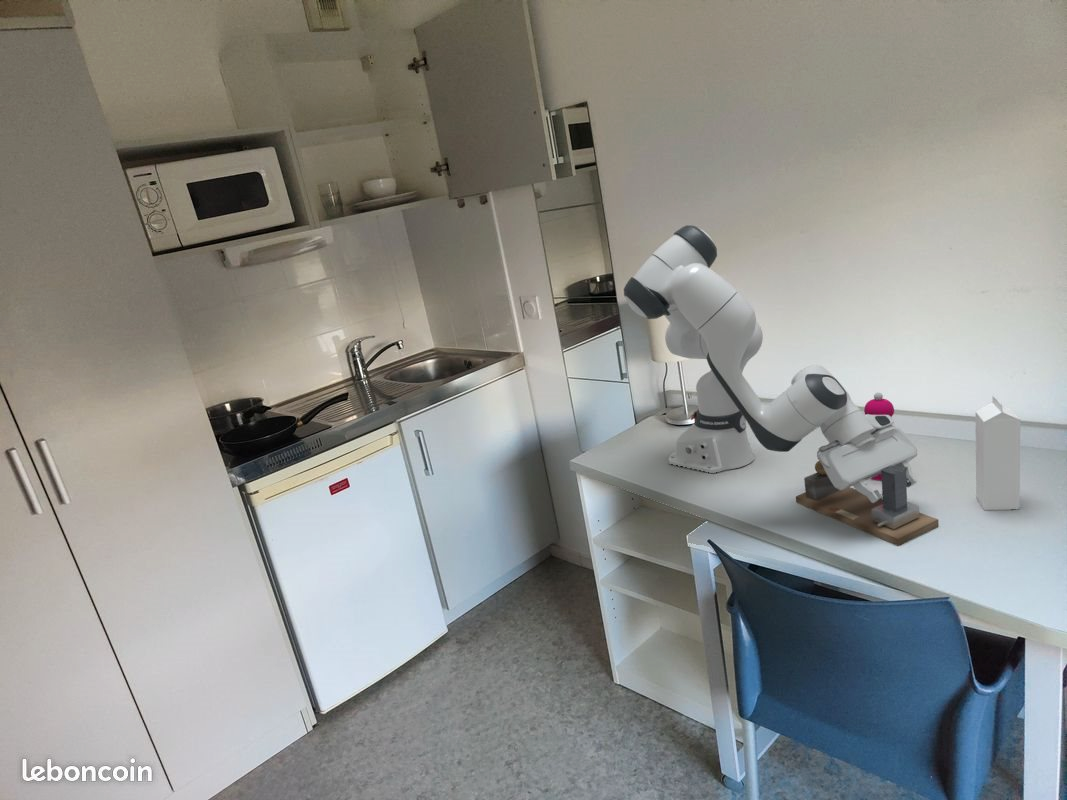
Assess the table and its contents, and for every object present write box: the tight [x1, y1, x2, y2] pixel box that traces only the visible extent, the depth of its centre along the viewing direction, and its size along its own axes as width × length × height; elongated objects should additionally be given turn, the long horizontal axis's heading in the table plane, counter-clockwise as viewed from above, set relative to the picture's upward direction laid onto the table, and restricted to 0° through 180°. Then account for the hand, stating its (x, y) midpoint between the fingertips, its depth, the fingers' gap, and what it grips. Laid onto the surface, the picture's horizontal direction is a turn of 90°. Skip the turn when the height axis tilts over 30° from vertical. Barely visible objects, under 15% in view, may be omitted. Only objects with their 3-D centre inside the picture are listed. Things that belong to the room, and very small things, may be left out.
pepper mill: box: [863, 392, 895, 481], centre depth 155 cm, size 7×7×20 cm
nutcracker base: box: [795, 460, 939, 547], centre depth 142 cm, size 26×11×9 cm, turn 24°
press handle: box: [871, 466, 920, 529], centre depth 134 cm, size 5×8×10 cm, turn 114°
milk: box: [975, 395, 1021, 511], centre depth 134 cm, size 6×6×22 cm
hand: (895, 492), depth 133 cm, fingers open, 8 cm apart
